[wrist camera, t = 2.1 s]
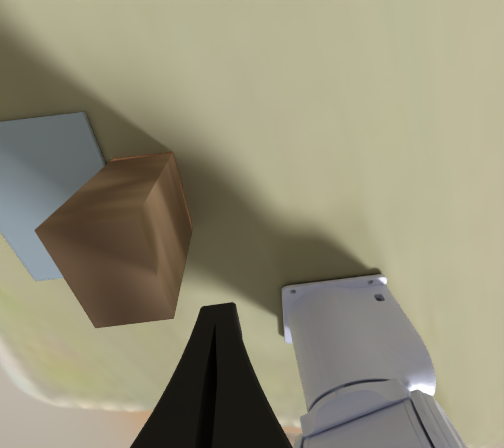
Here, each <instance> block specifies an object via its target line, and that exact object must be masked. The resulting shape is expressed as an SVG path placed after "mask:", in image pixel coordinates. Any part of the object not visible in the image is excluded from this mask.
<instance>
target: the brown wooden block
mask: <svg viewBox="0 0 504 448" xmlns="http://www.w3.org/2000/svg"><path fill="white" fill-rule="evenodd" d="M192 230H193V227H192V223H191V219H190V215H189V212H188V208H187V204H186V200H185V196H184V192H183V188H182V184H181V180H180V177H179V173H178V169H177V165H176V161H175V157H174V153H173V152H167V153H159V154H151V155H142V156H134V157H126V158H117V159H112V160H111V161H110V162H109V163H107V164H106V165H105V166H104V167H103V168H102V169H101V170H100V171H99V172H98V173H96V174H95V175H94V176H93V177H92V178H91V179H90V180H89V181H88V182H87V183H85V184H84V185H83V186H82V187H81V188H80V189H79V190H78V191H77V192H76V193H74V194H73V195H72V196H71V197H70V198H69V199H68V200H67V201H66V202H65V203H63V204H62V205H61V206H60V207H59V208H58V209H57V210H56V211H55V212H54V213H53V214H51V215H50V216H49V217H48V218H47V219H46V220H45V221H44V222H43V223H42V224H40V225H39V226H38V227H37V228H36V229H35V230H34V231H35V233H36V234H37V236H38V237H39V239H40V241H41V242H42V244H43V245H44V247H45V248H46V250H47V252H48V253H49V255H50V256H51V258H52V260H53V261H54V263H55V264H56V266H57V268H58V269H59V271H60V272H61V274H62V276H63V277H64V279H65V280H66V282H67V284H68V285H69V287H70V288H71V290H72V292H73V293H74V295H75V296H76V298H77V300H78V301H79V303H80V304H81V306H82V307H83V309H84V311H85V312H86V314H87V315H88V317H89V319H90V320H91V322H92V323H93V325H94V327H95V328H101V327H109V326H118V325H126V324H134V323H142V322H150V321H158V320H166V319H174V315H175V311H176V306H177V301H178V296H179V292H180V287H181V282H182V277H183V272H184V268H185V263H186V258H187V253H188V249H189V244H190V239H191V234H192Z"/></svg>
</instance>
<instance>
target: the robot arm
mask: <svg viewBox="0 0 504 448" xmlns="http://www.w3.org/2000/svg"><path fill="white" fill-rule="evenodd" d="M386 282H387V278H386V277H385V275H383V274H378V275H370V276H362V277H354V278H345V279H337V280H329V281H321V282H313V283H305V284H296V285H288V286H284V287H283V288H282V290H281V292H282V309H283V326H284V340H285V342H286V343H293V346H294V351H295V355H296V360H297V364H298V369H299V374H300V378H301V383H302V387H303V392H304V397H305V401H306V406H307V411H308V413H307V414H305V415H303V416H301V417H300V421H301V426H302V431H303V434H301V435H299V436H298V437H297V439H296V440H295V443H294V446H293V447H292V445H291V444H290V442H289V440H288V438H287V436H286V434H285V433H284V431H283V429H282V427H281V425H280V424H279V422H278V420H277V418H276V416H275V414H274V412H273V410H272V408H271V406H270V404H269V402H268V400H267V398H266V396H265V394H264V392H263V390H262V388H261V386H260V383H259V381H258V379H257V377H256V374H255V372H254V369H253V367H252V365H251V362H250V360H249V357H248V354H247V352H246V349H245V346H244V343H243V340H242V331H241V327H240V322H239V317H238V313H237V308H236V304H235V303H233V302H231V303H224V304H217V305H210V306H203V307H202V308H201V309H200V312H199V315H198V318H197V321H196V324H195V326H194V329H193V331H192V334H191V336H190V339H189V341H188V344H187V346H186V348H185V350H184V353H183V355H182V357H181V359H180V361H179V364H178V366H177V368H176V370H175V372H174V374H173V376H172V378H171V380H170V382H169V384H168V385H167V387H166V389H165V391H164V393H163V395H162V396H161V398H160V400H159V402H158V403H157V405H156V407H155V409H154V410H153V412H152V414H151V416H150V417H149V419H148V420H147V422H146V423H145V425H144V427H143V428H142V430H141V431H140V433H139V434H138V436H137V438H136V439H135V441H134V442H133V444H132V445H131V447H130V448H467V447H466V445H465V443H464V442H463V440H462V439H461V437H460V435H459V434H458V432H457V431H456V429H455V427H454V426H453V424H452V423H451V421H450V420H449V418H448V417H447V415H446V414H445V412H444V411H443V409H442V408H441V406H440V405H439V403H438V402H437V401H436V399H435V398H434V397H433V396H434V393H435V388H436V378H435V371H434V367H433V364H432V361H431V358H430V355H429V353H428V350H427V348H426V346H425V344H424V342H423V340H422V339H421V337H420V335H419V334H418V332H417V331H416V329H415V328H414V326H413V325H412V323H411V322H410V320H409V319H408V317H407V316H406V314H405V313H404V311H403V310H402V308H401V307H400V305H399V304H398V302H397V301H396V300H395V298H394V297H393V295H392V294H391V292H390V291H389V289H388V288H387V286H386ZM291 290H293V291H291Z"/></svg>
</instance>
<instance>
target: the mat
mask: <svg viewBox="0 0 504 448" xmlns="http://www.w3.org/2000/svg"><path fill="white" fill-rule="evenodd" d="M105 165H106V163H105V161H104V158H103V156H102V153H101V151H100V148H99V146H98V143H97V141H96V138H95V136H94V133H93V131H92V128H91V126H90V123H89V121H88V118H87V116H86V113H85V112H77V113H68V114H60V115H52V116H43V117H35V118H26V119H18V120H9V121H1V122H0V232H1V233H2V235H3V236H4V238H5V239H6V241H7V242H8V243H9V245H10V246H11V248H12V249H13V250H14V252H15V253H16V255H17V256H18V257H19V259H20V260H21V262H22V263H23V264H24V266H25V267H26V269H27V270H28V272H29V273H30V274H31V276H32V277H33V279H34V280H35V281H41V280H50V279H58V278H64V277H63V276H62V274H61V272H60V271H59V269H58V268H57V266H56V264H55V263H54V261H53V260H52V258H51V256H50V255H49V253H48V252H47V250H46V248H45V247H44V245H43V244H42V242H41V241H40V239H39V237H38V236H37V234H36V233H35V231H34V230H35V229H36V228H37V227H38V226H39V225H40V224H42V223H43V222H44V221H45V220H46V219H47V218H48V217H49V216H50V215H51V214H53V213H54V212H55V211H56V210H57V209H58V208H59V207H60V206H61V205H62V204H63V203H65V202H66V201H67V200H68V199H69V198H70V197H71V196H72V195H73V194H74V193H76V192H77V191H78V190H79V189H80V188H81V187H82V186H83V185H84V184H85V183H87V182H88V181H89V180H90V179H91V178H92V177H93V176H94V175H95V174H96V173H98V172H99V171H100V170H101V169H102V168H103V167H104V166H105Z"/></svg>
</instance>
